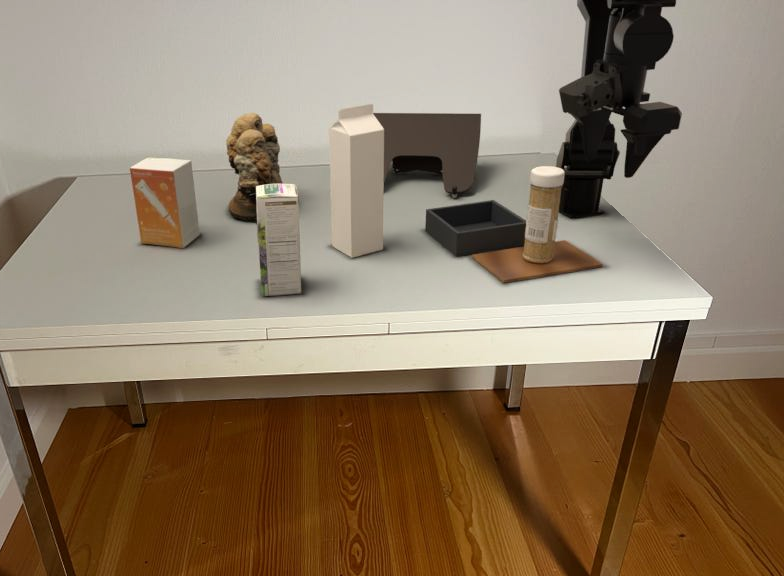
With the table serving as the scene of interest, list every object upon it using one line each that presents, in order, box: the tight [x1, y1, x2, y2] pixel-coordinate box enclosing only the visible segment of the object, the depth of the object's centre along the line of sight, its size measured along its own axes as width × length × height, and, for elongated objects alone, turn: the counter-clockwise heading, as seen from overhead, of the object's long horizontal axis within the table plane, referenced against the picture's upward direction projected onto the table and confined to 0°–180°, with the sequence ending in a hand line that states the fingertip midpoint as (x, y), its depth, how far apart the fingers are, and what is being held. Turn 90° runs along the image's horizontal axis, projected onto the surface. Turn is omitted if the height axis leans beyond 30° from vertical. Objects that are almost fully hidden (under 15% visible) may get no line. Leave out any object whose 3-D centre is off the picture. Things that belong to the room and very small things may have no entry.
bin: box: [424, 199, 527, 257], centre depth 121 cm, size 12×12×4 cm
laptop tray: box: [373, 112, 482, 199], centre depth 148 cm, size 23×23×9 cm
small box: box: [129, 157, 201, 249], centre depth 124 cm, size 8×6×13 cm
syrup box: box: [255, 183, 302, 297], centre depth 105 cm, size 6×6×14 cm
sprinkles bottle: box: [522, 165, 565, 263], centre depth 109 cm, size 5×5×14 cm
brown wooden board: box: [471, 239, 604, 284], centre depth 113 cm, size 16×10×1 cm, turn 106°
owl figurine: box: [225, 112, 284, 221], centre depth 135 cm, size 18×12×17 cm, turn 174°
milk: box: [328, 103, 385, 259], centre depth 115 cm, size 6×6×22 cm
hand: (608, 168), depth 108 cm, fingers open, 9 cm apart
